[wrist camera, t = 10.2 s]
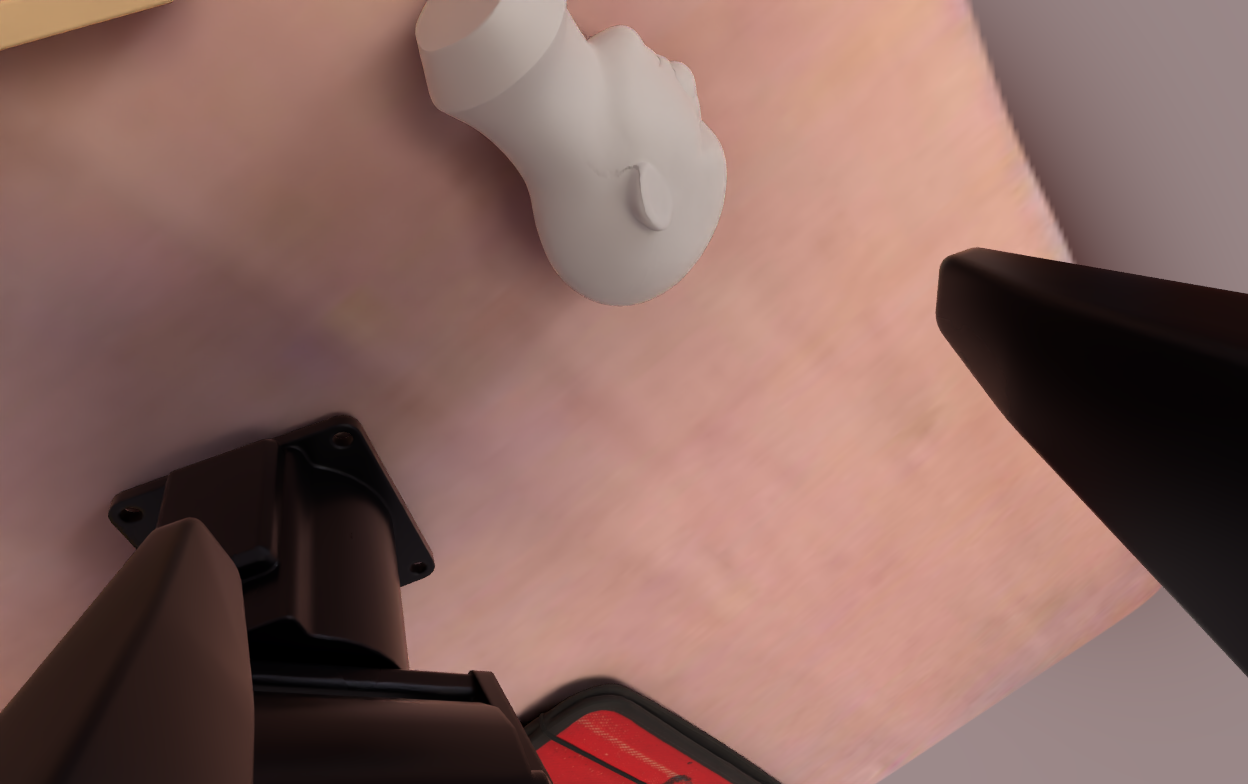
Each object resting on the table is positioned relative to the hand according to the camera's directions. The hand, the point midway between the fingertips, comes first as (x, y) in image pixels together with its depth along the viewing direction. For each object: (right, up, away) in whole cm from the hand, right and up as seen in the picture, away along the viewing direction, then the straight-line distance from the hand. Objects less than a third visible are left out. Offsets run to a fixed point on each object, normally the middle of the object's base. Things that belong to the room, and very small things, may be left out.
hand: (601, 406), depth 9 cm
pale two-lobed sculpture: (-1, +7, +9) cm, 11 cm away
